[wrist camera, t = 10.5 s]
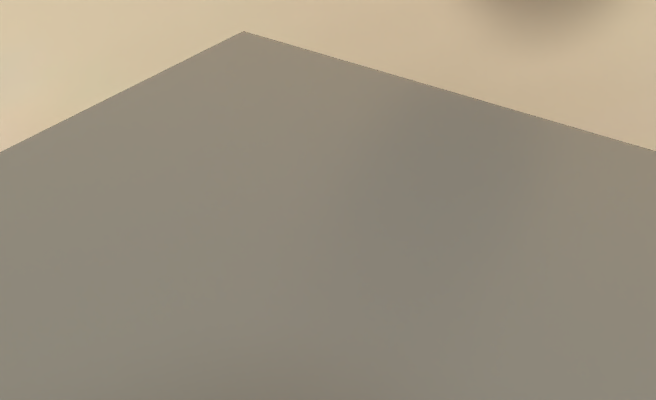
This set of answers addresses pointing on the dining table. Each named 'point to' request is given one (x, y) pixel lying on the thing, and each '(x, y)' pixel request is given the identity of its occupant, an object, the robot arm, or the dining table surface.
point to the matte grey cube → (322, 243)
